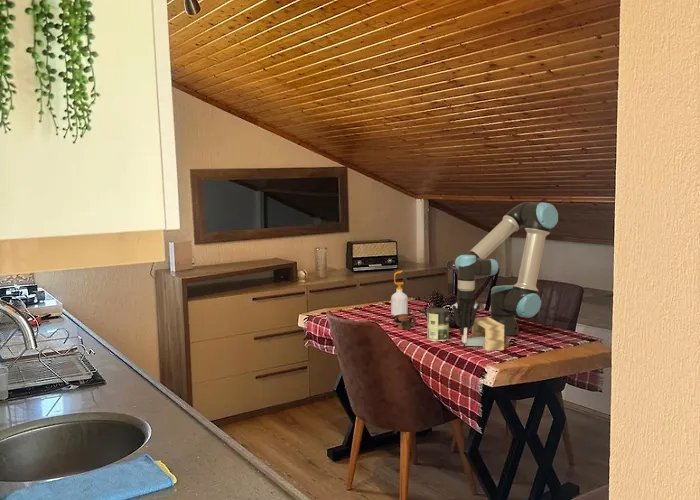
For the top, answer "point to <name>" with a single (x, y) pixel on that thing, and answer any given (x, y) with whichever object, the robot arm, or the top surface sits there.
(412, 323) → the pottery mug
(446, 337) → the coffee can
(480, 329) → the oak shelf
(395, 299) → the soap bottle
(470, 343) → the grey flat block
